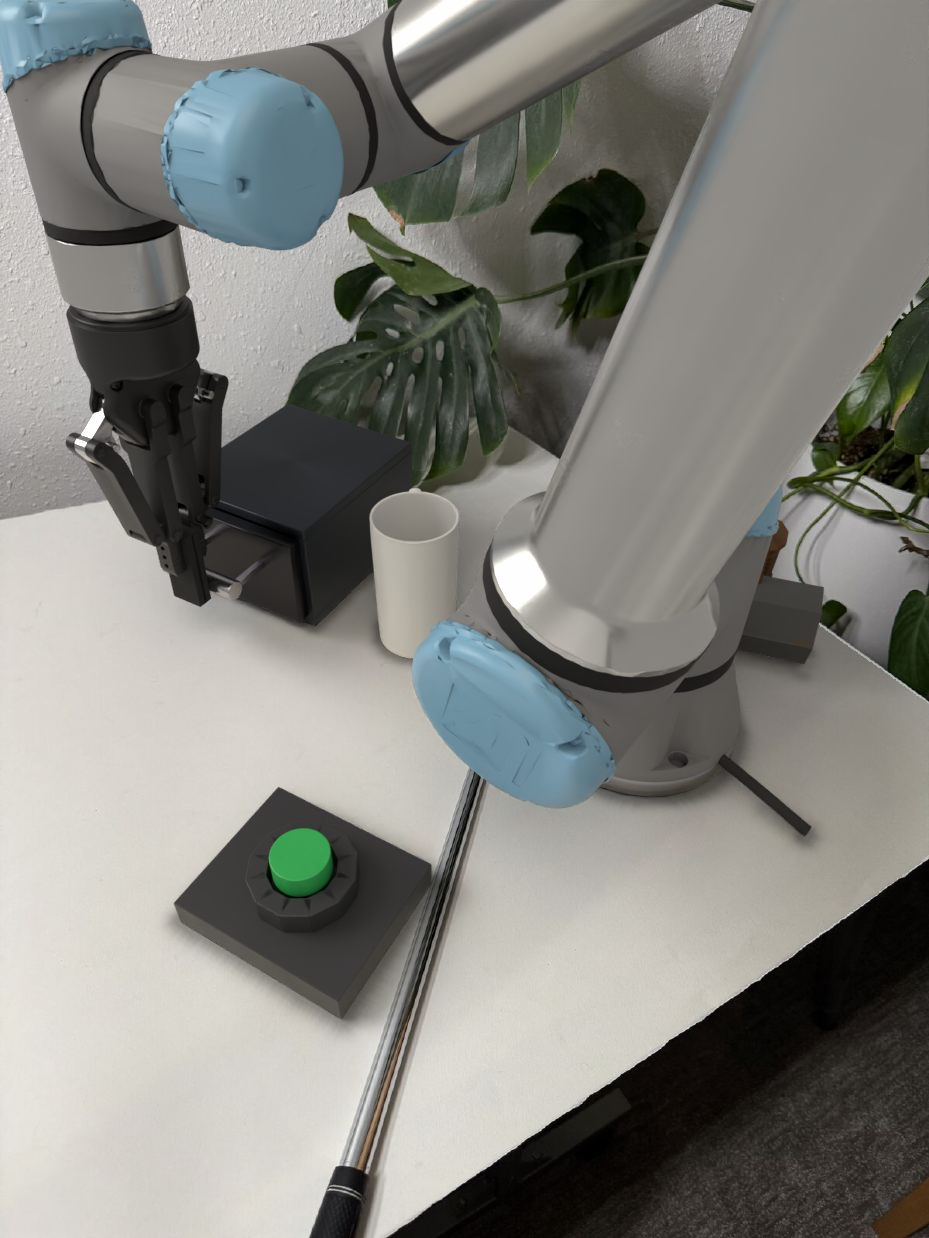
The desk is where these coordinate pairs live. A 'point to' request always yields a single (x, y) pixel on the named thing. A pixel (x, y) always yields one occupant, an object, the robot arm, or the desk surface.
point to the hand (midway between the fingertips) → (192, 597)
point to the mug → (413, 566)
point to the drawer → (254, 564)
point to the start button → (301, 862)
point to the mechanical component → (782, 612)
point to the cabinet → (316, 493)
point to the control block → (307, 903)
